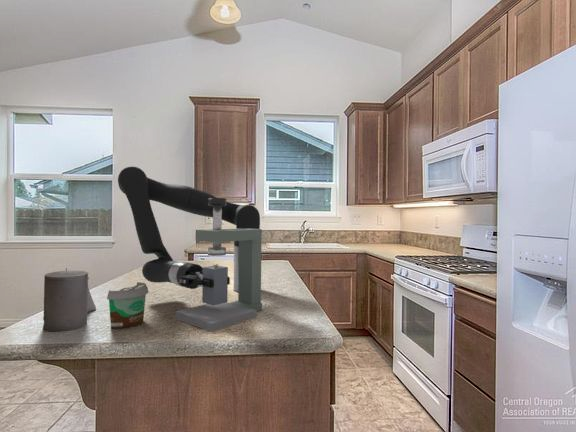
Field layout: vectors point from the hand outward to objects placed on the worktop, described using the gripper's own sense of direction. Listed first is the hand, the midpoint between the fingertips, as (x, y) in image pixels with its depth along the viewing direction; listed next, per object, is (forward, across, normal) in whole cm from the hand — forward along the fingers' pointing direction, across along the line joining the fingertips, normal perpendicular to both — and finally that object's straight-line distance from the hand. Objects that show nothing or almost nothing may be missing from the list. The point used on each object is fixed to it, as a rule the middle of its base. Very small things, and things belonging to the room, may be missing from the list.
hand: (221, 282), depth 95 cm
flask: (-38, -22, +11) cm, 45 cm away
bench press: (-2, +4, +10) cm, 11 cm away
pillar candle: (-26, -30, +11) cm, 41 cm away
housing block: (-3, 0, +6) cm, 7 cm away
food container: (-14, -18, +11) cm, 25 cm away
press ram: (-2, 0, -8) cm, 8 cm away
